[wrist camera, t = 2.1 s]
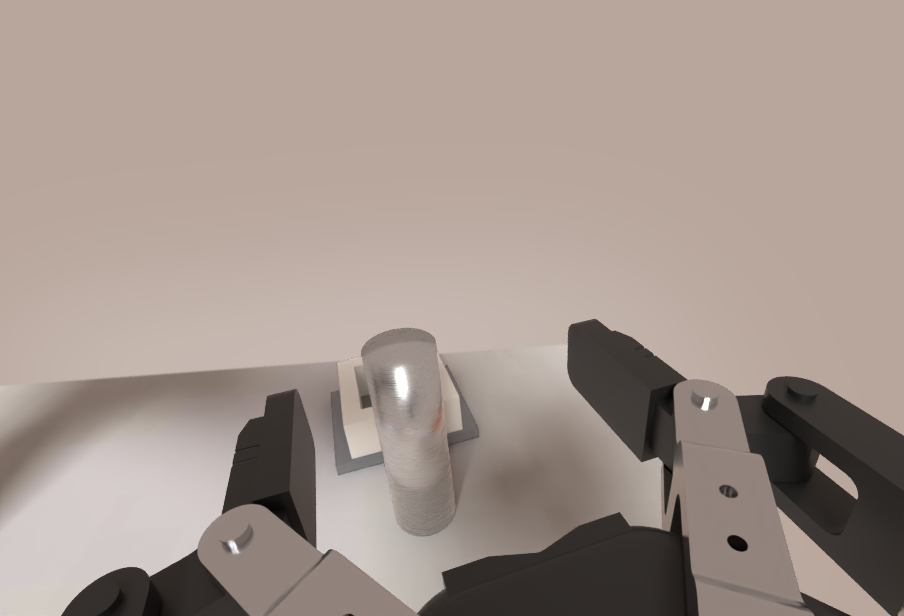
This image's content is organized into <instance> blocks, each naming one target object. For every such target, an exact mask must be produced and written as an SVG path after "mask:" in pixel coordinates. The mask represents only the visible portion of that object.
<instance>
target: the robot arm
mask: <svg viewBox="0 0 904 616" xmlns="http://www.w3.org/2000/svg"><path fill="white" fill-rule="evenodd" d="M567 369H568V374H569V378H570V380H571V382H572V384H573V386H574V387H575V388H576V389H577V391H578V392H579V393H580V394H581V395H582V396H583V397H584V398H585V400H586V401H587V402H588V403H589V404H590V405H591V406H592V407H593V408H594V410H595V411H596V412H597V413H598V414H599V415H600V416H601V417H602V419H603V420H604V421H605V422H606V423H607V424H608V425H609V426H610V427H611V429H612V430H613V431H614V432H615V433H616V434H617V435H618V436H619V438H620V439H621V440H622V441H623V442H624V443H625V444H626V445H627V446H628V448H629V449H630V450H631V451H632V452H633V453H634V454H635V455H636V457H637V458H638V459H639V460H640V461H641V462H644V461H647V460H650V459H653V458H656V457H659V459H660V460H661V461H662V467H661V501H662V530H661V529H658V528H652V527H645V526H629V524H628V523H627V522H626V520H625V519H624V518H623V516H622V515H621V513H620V512H619V513H616V514H613V515H610V516H607V517H604V518H601V519H598V520H595V521H592V522H589V523H586V524H583V525H580V526H578V527H577V528H575V529H574V530H572V531H571V532H569V533H568V534H566V535H565V536H564V537H562V538H561V539H559V540H558V541H556V542H555V543H554V544H552V545H551V546H549V547H548V548H546V549H545V550H543V551H541V552H538V553H529V554H516V555H503V556H490V557H486V558H483V559H480V560H477V561H474V562H471V563H468V564H465V565H462V566H459V567H456V568H453V569H450V570H447V571H444V572H442V577H443V582H444V588H445V589H444V590H442V591H441V592H440V593H438V594H437V595H435V596H434V597H433V598H432V599H431V600H430V601H428V602H427V603H426V604H425V605H424V606H423V607H422V609H421V610H420V611H419V612H418V613H415V612H414V611H413V610H412V609H410V608H409V607H408V606H407V605H405V604H404V603H403V602H401V601H400V600H399V599H398V598H396V597H395V596H394V595H393V594H391V593H390V592H389V591H388V590H386V589H385V588H384V587H382V586H381V585H380V584H379V583H377V582H376V581H375V580H374V579H372V578H371V577H370V576H369V575H367V574H366V573H365V572H363V571H362V570H361V569H360V568H358V567H357V566H356V565H355V564H353V563H352V562H351V561H349V560H348V559H347V558H346V557H344V556H343V555H342V554H340V553H339V552H337V551H335V550H332V549H330V550H328V551H327V552H326V553H325V554H323V553H321V552H320V551H318V550H317V549H316V472H315V448H314V442H313V437H312V433H311V430H310V427H309V423H308V420H307V417H306V414H305V411H304V408H303V404H302V401H301V398H300V395H299V392H298V391H297V389H294V390H290V391H286V392H282V393H278V394H273V395H269V396H267V400H266V407H265V413H264V416H263V417H259V418H255V419H251V420H249V421H248V423H247V424H246V426H245V427H244V428H243V430H242V431H241V432H240V434H239V435H238V440H237V444H236V449H235V452H236V453H235V454H234V459H233V463H232V464H233V467H232V468H231V473H230V477H229V482H228V487H227V492H226V496H225V501H224V506H223V510H222V515H221V516H220V517H218V518H217V519H216V520H215V521H213V522H212V523H211V525H210V526H209V527H208V528H207V529H206V530H205V532H204V533H203V535H202V537H201V539H200V541H199V544H198V549H196V550H195V551H194V552H192V553H191V554H189V555H188V556H186V557H184V558H183V559H181V560H179V561H177V562H176V563H174V564H172V565H170V566H168V567H167V568H165V569H163V570H161V571H159V572H158V573H156V574H154V575H152V576H150V577H149V576H148V574H147V573H146V572H145V571H144V570H142V569H140V568H137V567H127V568H122V569H118V570H115V571H113V572H110V573H108V574H106V575H104V576H102V577H100V578H99V579H97V580H96V581H94V582H93V583H91V584H90V585H89V586H87V587H86V588H85V589H84V590H82V591H81V592H80V593H79V594H78V595H77V596H76V597H75V598H74V599H73V600H72V601H71V603H70V604H69V605H68V606H67V608H66V609H65V611H64V612H63V614H62V615H61V616H850V615H848V614H846V613H844V612H842V611H840V610H838V609H836V608H833V607H831V606H829V605H827V604H825V603H823V602H821V601H818V600H816V599H814V598H812V597H810V596H808V595H806V594H804V593H801V592H800V590H799V586H798V583H797V579H796V576H795V572H794V568H793V564H792V561H791V558H790V554H789V550H788V546H787V543H786V539H785V535H784V532H783V528H782V525H781V521H780V517H779V514H778V510H777V507H779V509H781V510H782V511H783V512H784V513H785V514H786V515H787V516H788V517H789V518H790V519H791V520H792V521H793V522H794V523H795V524H796V525H797V526H798V527H799V528H800V529H801V530H802V531H803V532H805V533H806V534H807V535H808V536H809V537H810V538H811V539H812V540H813V541H814V542H815V543H816V544H817V545H818V546H819V547H820V548H821V549H822V550H823V551H824V552H825V553H826V554H827V555H828V556H830V557H831V558H832V559H833V560H834V561H835V562H836V563H837V564H838V565H839V566H840V567H841V568H842V569H843V570H844V571H845V572H846V573H847V574H848V575H849V576H850V577H851V578H852V579H853V580H855V582H857V583H858V584H859V585H860V586H861V587H862V588H863V589H864V590H865V591H866V592H867V593H868V594H869V595H870V596H871V597H872V598H873V599H874V600H875V601H876V602H877V603H879V604H880V606H882V607H883V608H884V609H885V610H886V611H887V612H888V613H889V614H890V615H891V616H904V436H903V435H902V434H900V433H898V432H897V431H895V430H894V429H892V428H890V427H889V426H887V425H885V424H884V423H882V422H881V421H879V420H877V419H876V418H874V417H872V416H871V415H869V414H868V413H866V412H864V411H863V410H861V409H860V408H858V407H856V406H855V405H853V404H851V403H850V402H848V401H847V400H845V399H843V398H842V397H840V396H838V395H837V394H835V393H834V392H832V391H830V390H829V389H827V388H826V387H824V386H822V385H820V384H818V383H815V382H813V381H810V380H807V379H803V378H798V377H787V376H786V377H777V378H774V379H772V380H770V381H769V382H768V383H767V386H766V390H765V393H764V395H750V396H735V395H734V394H733V393H732V392H731V391H729V390H728V389H727V388H725V387H723V386H721V385H719V384H716V383H713V382H710V381H705V380H687V379H686V378H684V377H683V376H682V375H680V374H679V373H678V372H677V371H675V370H674V369H672V368H671V367H670V366H669V365H667V364H666V363H664V362H663V361H662V360H661V359H659V358H658V357H657V356H654V355H653V353H652V352H650V351H649V350H647V349H646V348H645V349H644V346H642V345H641V344H640V343H639V342H637V341H636V340H635V339H633V338H632V337H630V336H627V335H625V334H622V333H620V332H617V331H611V330H609V329H608V328H607V327H606V326H604V325H603V324H602V323H601V322H599V321H598V320H596V319H592V320H588V321H584V322H579V323H575V324H571V326H570V327H569V331H568V362H567ZM820 454H821V455H822V456H823V457H825V458H826V459H827V460H829V461H830V462H831V463H833V464H834V465H835V466H837V467H838V468H839V469H840V470H842V471H843V472H844V473H846V474H847V475H848V476H849V477H850V478H851V479H852V481H853V482H854V484H855V485H856V487H857V490H858V499H857V500H856V499H855V498H854V497H853V496H851V495H850V494H849V493H847V492H846V491H845V490H844V489H843V488H841V487H840V486H839V485H837V484H836V483H835V482H834V481H832V480H831V479H830V478H829V477H828V476H826V475H825V474H824V473H823V472H821V471H820V470H819V469H818V468H816V467H815V465H816V463H817V460H818V457H819V455H820Z"/></svg>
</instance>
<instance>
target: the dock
mask: <svg viewBox="0 0 904 616" xmlns="http://www.w3.org/2000/svg"><path fill="white" fill-rule="evenodd" d="M437 356H438V364H439V372H440V380H441V389H442V397H443V405H444V414H445V422H446V430H447V438H448V445H450V444H454V443H457V442H461V441H465V440H468V439H472V438H476V437H479V432H478V426H477V424H476V422H475V420H474V418H473V416H472V414H471V412H470V410H469V408H468V406H467V404H466V402H465V400H464V398H463V396H462V394H461V392H460V390H459V388H458V386H457V384H456V382H455V380H454V378H453V376H452V374H451V372H450V370H449V368H448V366H447V365H446V366H444V364H443V362H442V360H441V358H440V356H439V354H438V352H437ZM337 367H338V377H339V387H340V391H336V392H331V403H332V418H333V432H334V446H335V461H336V468H337V472H338V475H341V474H344V473H348V472H352V471H355V470H359V469H363V468H366V467H370V466H373V465H377V464H381V463H384V459H383V455H382V450H381V445H380V441H379V436H378V431H377V427H376V422H375V417H374V413H373V408H372V403H371V399H370V394H369V390H368V385H367V380H366V376H365V371H364V366H363V362H362V357H357V358H353V359H348V360H344V361H339V362H337Z"/></svg>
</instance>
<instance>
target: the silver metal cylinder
mask: <svg viewBox="0 0 904 616" xmlns="http://www.w3.org/2000/svg"><path fill="white" fill-rule="evenodd" d="M361 357H362V362H363V366H364V371H365V376H366V380H367V385H368V390H369V394H370V399H371V403H372V408H373V413H374V417H375V422H376V427H377V431H378V436H379V441H380V445H381V450H382V455H383V459H384V464H385V469H386V473H387V478H388V483H389V487H390V492H391V497H392V501H393V506H394V510H395V515H396V519H397V522H398V524H399V526H400V527H401V528H402V529H403V530H404V531H406V532H407V533H409V534H412V535H415V536H429V535H433V534H436V533H438V532H440V531H441V530H443V529H444V528H445V527H447V526H448V525H449V523H450V522H451V521H452V519H453V517H454V514H455V510H456V505H455V496H454V488H453V480H452V471H451V463H450V455H449V447H448V438H447V430H446V422H445V414H444V405H443V397H442V389H441V380H440V372H439V364H438V356H437V348H436V341H435V339H434V337H433V336H432V335H431V334H430V333H428V332H426V331H423V330H420V329H414V328H401V329H393V330H389V331H386V332H383V333H381V334H378V335H376V336H375V337H373V338H371V339H370V340H369V341H367V342H366V344H365V345H364V347H363V348H362V351H361Z"/></svg>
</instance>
